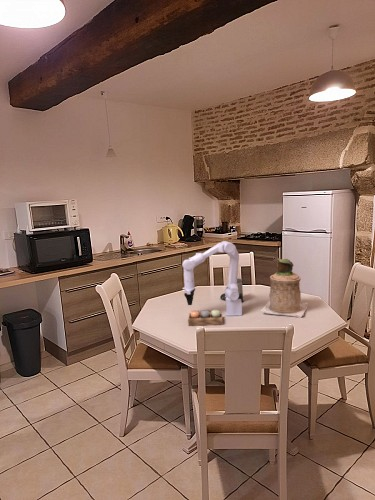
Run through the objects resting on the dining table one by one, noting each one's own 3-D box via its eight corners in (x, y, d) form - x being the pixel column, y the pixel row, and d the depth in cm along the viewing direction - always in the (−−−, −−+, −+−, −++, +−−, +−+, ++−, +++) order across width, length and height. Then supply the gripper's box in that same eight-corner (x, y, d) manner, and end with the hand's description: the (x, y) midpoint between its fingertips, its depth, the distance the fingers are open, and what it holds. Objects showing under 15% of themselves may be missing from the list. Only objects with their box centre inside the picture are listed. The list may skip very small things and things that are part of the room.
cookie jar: (303, 318, 197) (303, 262, 192) (260, 314, 208) (258, 261, 202) (308, 305, 219) (308, 254, 214) (269, 302, 230) (267, 254, 225)
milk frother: (243, 303, 229) (242, 281, 227) (219, 303, 232) (218, 282, 230) (243, 297, 243) (242, 276, 241) (220, 297, 246) (219, 276, 243)
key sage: (219, 315, 203) (219, 309, 202) (220, 318, 198) (219, 312, 198) (211, 315, 203) (211, 309, 202) (211, 318, 198) (211, 312, 198)
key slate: (209, 315, 203) (209, 309, 203) (209, 318, 199) (209, 312, 198) (201, 316, 203) (201, 310, 203) (201, 318, 199) (200, 312, 198)
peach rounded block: (199, 316, 204) (198, 310, 203) (198, 318, 199) (198, 313, 198) (191, 316, 204) (190, 310, 203) (190, 319, 199) (190, 313, 199)
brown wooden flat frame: (221, 317, 207) (221, 312, 206) (222, 324, 195) (222, 319, 194) (189, 318, 208) (189, 313, 208) (188, 326, 196) (188, 320, 196)
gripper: (183, 277, 211) (184, 299, 213) (180, 283, 196) (182, 307, 199) (195, 277, 210) (196, 298, 212) (193, 283, 196) (194, 306, 198)
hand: (190, 302), depth 205 cm, fingers open, 7 cm apart
